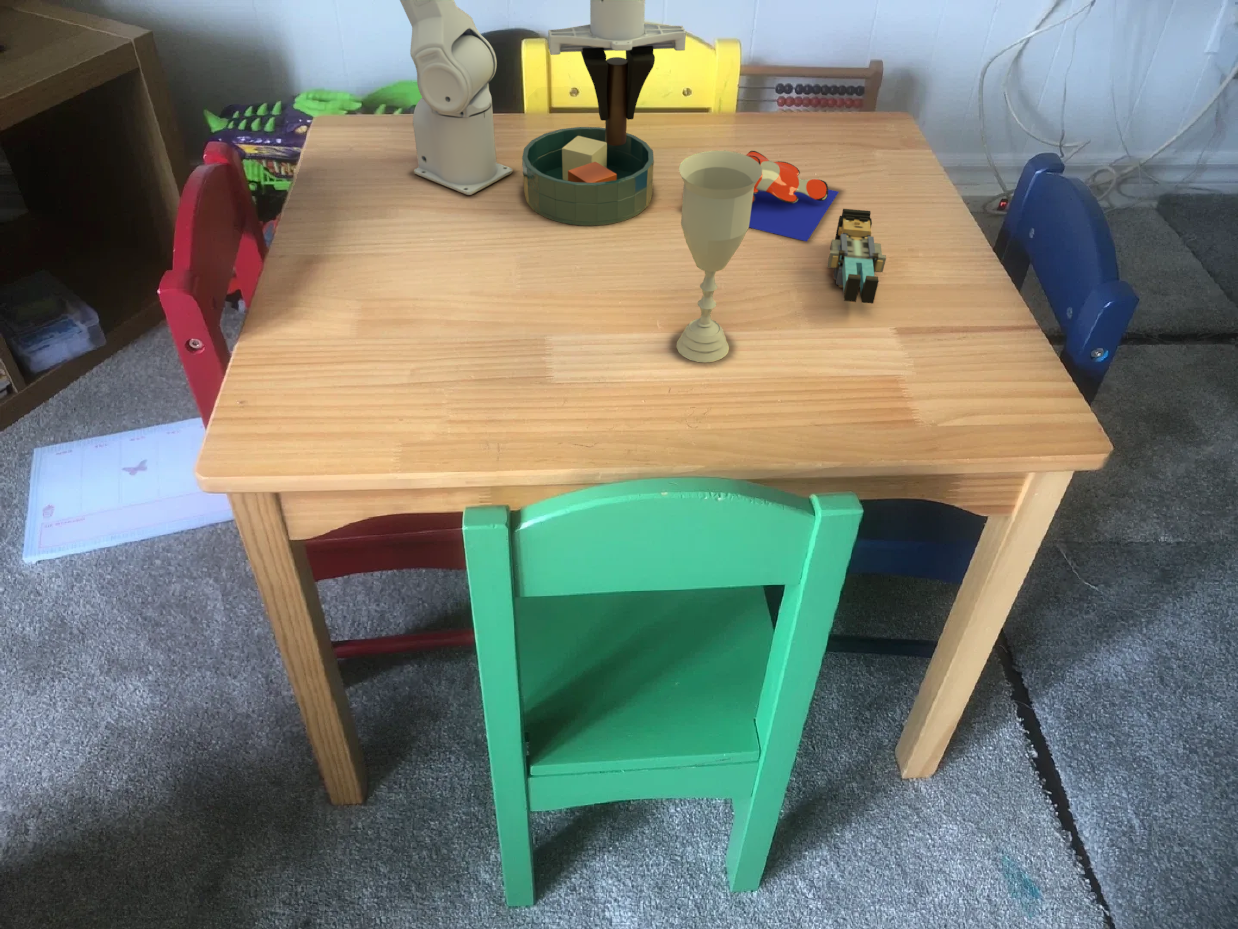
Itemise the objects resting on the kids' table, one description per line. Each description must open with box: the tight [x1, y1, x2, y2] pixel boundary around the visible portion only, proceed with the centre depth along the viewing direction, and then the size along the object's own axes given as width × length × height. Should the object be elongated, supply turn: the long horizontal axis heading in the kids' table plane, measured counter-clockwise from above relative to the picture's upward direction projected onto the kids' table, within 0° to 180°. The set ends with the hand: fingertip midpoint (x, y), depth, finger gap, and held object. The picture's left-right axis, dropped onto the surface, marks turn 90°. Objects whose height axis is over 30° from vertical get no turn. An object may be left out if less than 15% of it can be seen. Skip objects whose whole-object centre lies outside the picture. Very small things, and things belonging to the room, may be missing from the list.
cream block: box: [562, 136, 607, 181], centre depth 111 cm, size 4×4×4 cm
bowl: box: [521, 126, 655, 227], centre depth 108 cm, size 15×15×5 cm
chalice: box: [676, 150, 762, 363], centre depth 82 cm, size 7×7×18 cm
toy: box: [827, 208, 887, 304], centre depth 96 cm, size 6×4×15 cm
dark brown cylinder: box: [604, 56, 628, 146], centre depth 102 cm, size 2×2×9 cm
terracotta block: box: [568, 162, 617, 183], centre depth 106 cm, size 4×4×4 cm
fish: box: [745, 150, 830, 205], centre depth 107 cm, size 13×5×9 cm
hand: (615, 116), depth 103 cm, fingers closed on dark brown cylinder, 2 cm apart
